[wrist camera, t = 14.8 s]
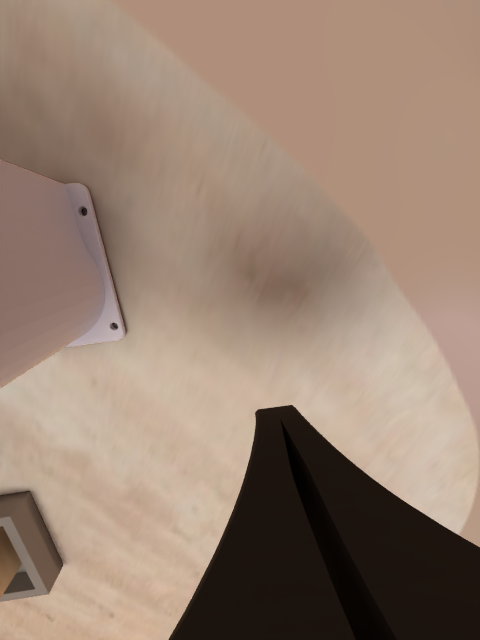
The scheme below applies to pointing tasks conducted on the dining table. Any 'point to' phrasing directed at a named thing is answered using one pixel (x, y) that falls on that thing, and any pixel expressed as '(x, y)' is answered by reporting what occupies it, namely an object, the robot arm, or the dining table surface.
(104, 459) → the dining table surface
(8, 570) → the block
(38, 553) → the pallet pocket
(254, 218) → the dining table surface
